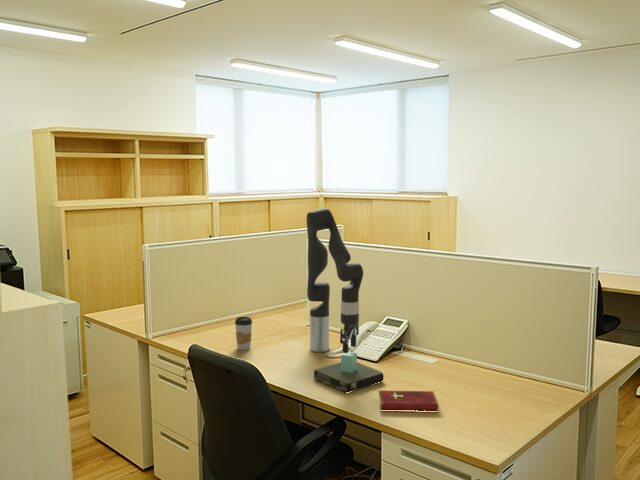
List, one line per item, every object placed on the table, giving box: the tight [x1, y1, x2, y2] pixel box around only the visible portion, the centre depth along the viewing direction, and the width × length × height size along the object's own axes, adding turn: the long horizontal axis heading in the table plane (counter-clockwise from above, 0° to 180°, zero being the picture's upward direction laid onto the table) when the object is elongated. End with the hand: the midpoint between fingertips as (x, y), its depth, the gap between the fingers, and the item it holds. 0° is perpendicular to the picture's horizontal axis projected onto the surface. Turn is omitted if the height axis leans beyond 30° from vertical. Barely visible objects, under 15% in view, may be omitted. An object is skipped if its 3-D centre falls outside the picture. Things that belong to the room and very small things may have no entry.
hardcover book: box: [377, 389, 440, 411], centre depth 215 cm, size 12×21×4 cm, turn 88°
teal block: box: [340, 351, 358, 373], centre depth 240 cm, size 5×5×7 cm
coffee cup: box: [234, 316, 253, 351], centre depth 282 cm, size 8×8×15 cm
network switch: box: [313, 361, 384, 393], centre depth 240 cm, size 23×23×5 cm
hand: (349, 349), depth 239 cm, fingers open, 8 cm apart
